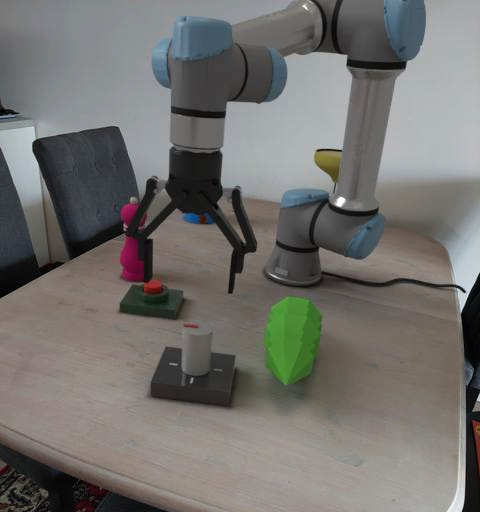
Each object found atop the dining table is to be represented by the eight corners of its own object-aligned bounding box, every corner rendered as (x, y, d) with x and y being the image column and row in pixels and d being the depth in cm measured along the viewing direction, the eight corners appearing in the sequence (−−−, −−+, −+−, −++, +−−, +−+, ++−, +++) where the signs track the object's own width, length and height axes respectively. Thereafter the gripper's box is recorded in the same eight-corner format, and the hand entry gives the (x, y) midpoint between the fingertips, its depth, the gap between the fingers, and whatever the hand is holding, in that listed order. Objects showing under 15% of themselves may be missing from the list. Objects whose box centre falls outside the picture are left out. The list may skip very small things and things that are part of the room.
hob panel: (234, 368, 87) (236, 354, 85) (228, 406, 77) (229, 391, 76) (165, 359, 87) (165, 345, 86) (150, 396, 78) (150, 380, 76)
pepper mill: (143, 284, 114) (142, 203, 105) (115, 279, 115) (112, 198, 106) (153, 273, 121) (154, 195, 111) (127, 268, 122) (125, 191, 112)
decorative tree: (317, 278, 97) (312, 348, 70) (328, 327, 101) (328, 411, 74) (264, 289, 100) (240, 361, 73) (277, 336, 104) (259, 420, 77)
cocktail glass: (304, 213, 183) (315, 146, 171) (350, 219, 181) (365, 152, 169) (303, 227, 167) (315, 154, 155) (354, 234, 166) (370, 161, 153)
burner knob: (212, 361, 83) (215, 320, 79) (207, 377, 79) (211, 335, 75) (184, 357, 83) (185, 316, 79) (178, 373, 79) (180, 331, 75)
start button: (163, 288, 105) (163, 281, 105) (159, 295, 102) (159, 288, 101) (146, 286, 106) (146, 279, 105) (141, 293, 102) (141, 286, 101)
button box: (183, 298, 110) (183, 283, 108) (174, 319, 101) (175, 302, 99) (132, 292, 110) (132, 277, 108) (119, 312, 101) (119, 295, 99)
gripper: (285, 153, 69) (266, 285, 79) (117, 133, 70) (121, 266, 80) (284, 162, 62) (264, 305, 72) (99, 140, 63) (106, 284, 73)
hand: (189, 285), depth 76 cm, fingers open, 13 cm apart
